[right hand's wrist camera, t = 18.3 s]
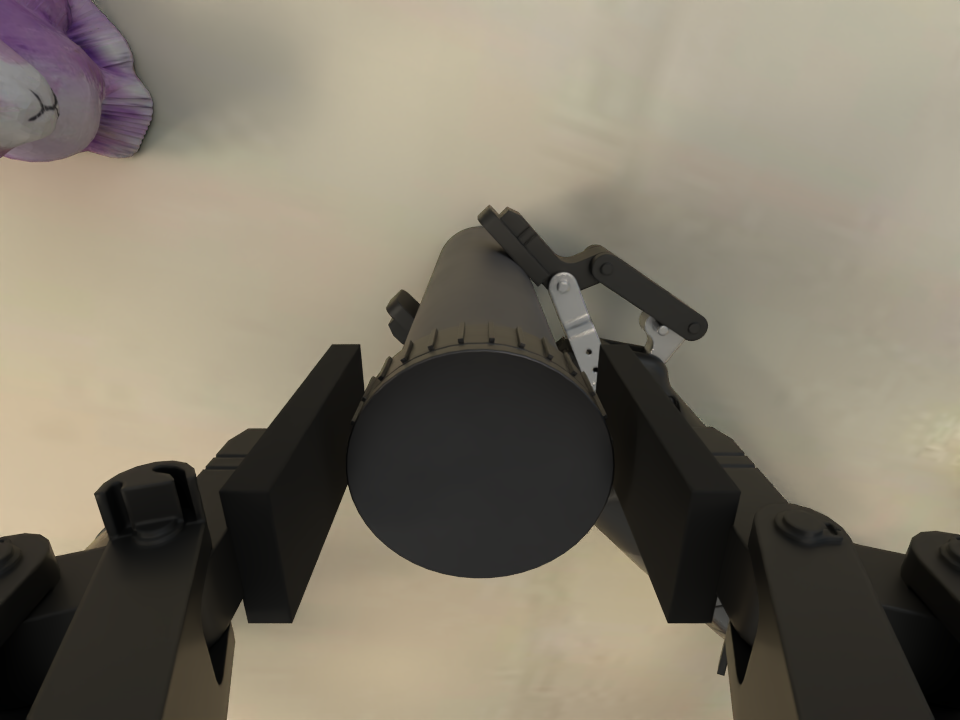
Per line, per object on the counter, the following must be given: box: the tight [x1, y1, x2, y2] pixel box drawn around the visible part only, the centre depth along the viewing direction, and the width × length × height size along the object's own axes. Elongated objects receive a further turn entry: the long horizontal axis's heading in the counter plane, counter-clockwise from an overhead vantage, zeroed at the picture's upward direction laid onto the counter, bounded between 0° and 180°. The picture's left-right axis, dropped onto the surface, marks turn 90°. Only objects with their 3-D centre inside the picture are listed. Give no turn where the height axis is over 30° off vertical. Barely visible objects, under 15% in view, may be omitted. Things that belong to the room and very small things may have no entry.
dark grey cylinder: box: [402, 227, 558, 350], centre depth 20 cm, size 5×5×19 cm
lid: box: [346, 321, 615, 578], centre depth 11 cm, size 6×6×2 cm
